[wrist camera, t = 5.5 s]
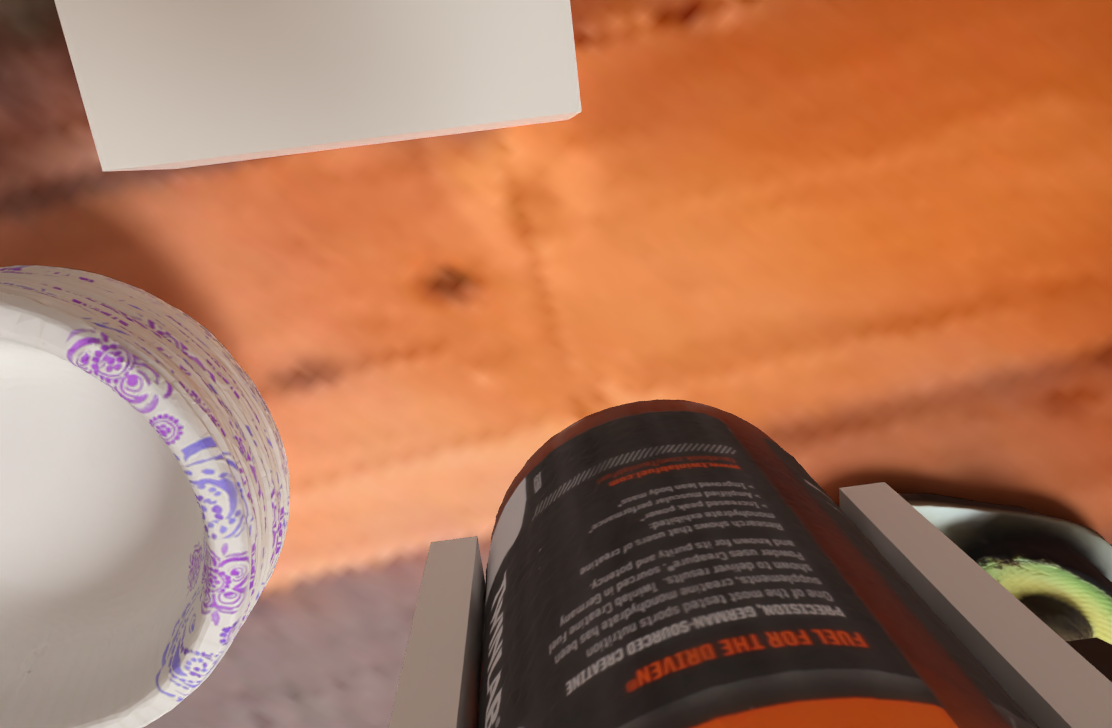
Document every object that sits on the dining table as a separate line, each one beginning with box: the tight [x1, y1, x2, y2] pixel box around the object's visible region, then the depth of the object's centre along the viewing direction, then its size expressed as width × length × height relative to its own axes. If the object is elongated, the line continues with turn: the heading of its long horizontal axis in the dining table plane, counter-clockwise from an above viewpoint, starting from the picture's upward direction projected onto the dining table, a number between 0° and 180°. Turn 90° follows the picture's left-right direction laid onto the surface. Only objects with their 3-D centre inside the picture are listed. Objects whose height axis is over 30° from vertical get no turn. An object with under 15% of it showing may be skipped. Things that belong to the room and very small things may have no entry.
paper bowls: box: [0, 265, 290, 728], centre depth 25 cm, size 15×15×8 cm
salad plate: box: [899, 493, 1112, 645], centre depth 32 cm, size 19×18×5 cm
